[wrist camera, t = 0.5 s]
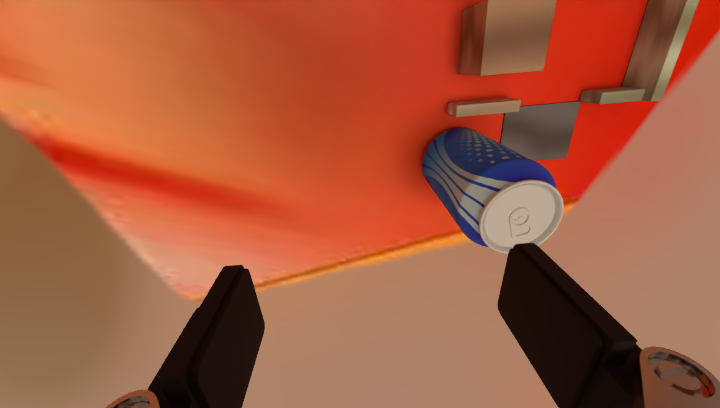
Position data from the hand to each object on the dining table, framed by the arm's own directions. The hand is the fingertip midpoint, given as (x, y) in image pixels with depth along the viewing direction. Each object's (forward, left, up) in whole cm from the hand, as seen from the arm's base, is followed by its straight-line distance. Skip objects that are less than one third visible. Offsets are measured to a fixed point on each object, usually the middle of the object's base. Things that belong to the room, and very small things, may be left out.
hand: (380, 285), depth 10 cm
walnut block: (-8, +15, -27) cm, 32 cm away
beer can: (+5, +12, -27) cm, 30 cm away
